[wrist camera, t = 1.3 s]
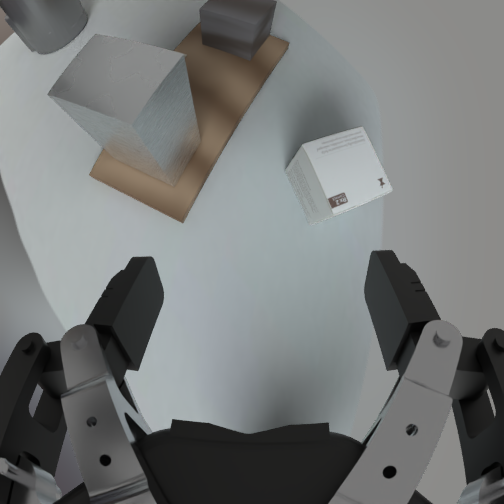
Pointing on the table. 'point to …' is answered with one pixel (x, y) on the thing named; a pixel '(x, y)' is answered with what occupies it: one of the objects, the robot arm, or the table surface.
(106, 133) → the grey rectangular block
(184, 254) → the table surface
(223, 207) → the table surface
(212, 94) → the gauge base
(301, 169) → the skincare box
